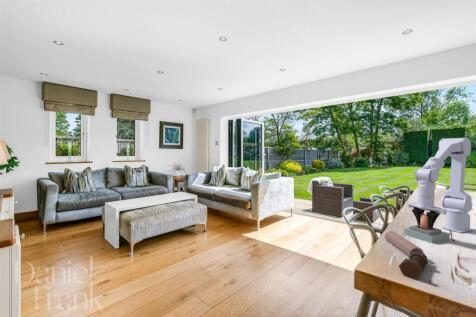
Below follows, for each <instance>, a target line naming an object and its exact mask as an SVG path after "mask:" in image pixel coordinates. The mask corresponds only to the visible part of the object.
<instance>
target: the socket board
mask: <svg viewBox="0 0 476 317" xmlns="http://www.w3.org/2000/svg"><path fill="white" fill-rule="evenodd" d="M404 235H406V236H408V237H412V238H415V239H418V240H421V241H423V242H427V243H429V244H434V243H435V244H436V243H438V242H443V241H448V240H450V236H451V234H450V233H449V232H445V231H442V229H440V228H437V227H433V228H431V230H424V229H421V228H420V226H419V225H418V224H415V225H411V226H409V227H407V228H404Z"/></svg>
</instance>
